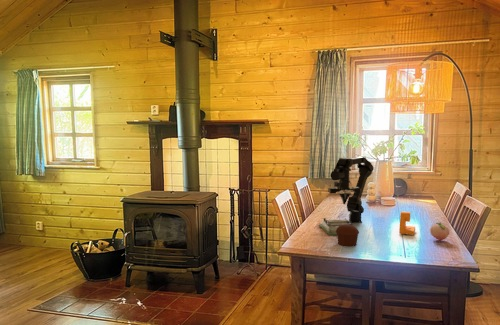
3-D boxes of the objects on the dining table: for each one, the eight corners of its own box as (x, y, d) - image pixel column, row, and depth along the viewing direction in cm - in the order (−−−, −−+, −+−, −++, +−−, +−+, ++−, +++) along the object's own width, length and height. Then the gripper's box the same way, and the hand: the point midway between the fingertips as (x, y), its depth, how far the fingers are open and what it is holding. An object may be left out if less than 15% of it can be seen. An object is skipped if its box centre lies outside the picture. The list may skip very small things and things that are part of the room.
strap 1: (328, 226, 211) (328, 224, 211) (326, 224, 214) (326, 222, 214) (350, 225, 212) (350, 223, 212) (348, 224, 215) (348, 222, 215)
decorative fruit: (426, 238, 199) (427, 220, 198) (441, 238, 200) (441, 219, 199) (436, 243, 190) (437, 224, 189) (451, 243, 191) (452, 224, 190)
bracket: (413, 236, 204) (414, 214, 203) (399, 234, 207) (399, 213, 206) (415, 231, 213) (415, 210, 212) (401, 229, 217) (402, 209, 216)
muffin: (355, 240, 197) (355, 222, 196) (362, 247, 186) (362, 227, 185) (332, 241, 196) (333, 222, 196) (338, 247, 185) (338, 228, 184)
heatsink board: (344, 224, 230) (344, 215, 229) (357, 235, 207) (357, 225, 207) (319, 225, 229) (319, 216, 228) (329, 235, 206) (329, 225, 206)
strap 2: (346, 220, 224) (346, 218, 224) (347, 221, 221) (347, 219, 221) (325, 221, 223) (325, 219, 223) (326, 222, 220) (326, 220, 220)
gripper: (355, 176, 234) (354, 201, 236) (325, 177, 233) (325, 202, 235) (361, 179, 223) (361, 204, 225) (330, 179, 222) (330, 205, 224)
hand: (344, 204), depth 227 cm, fingers closed
